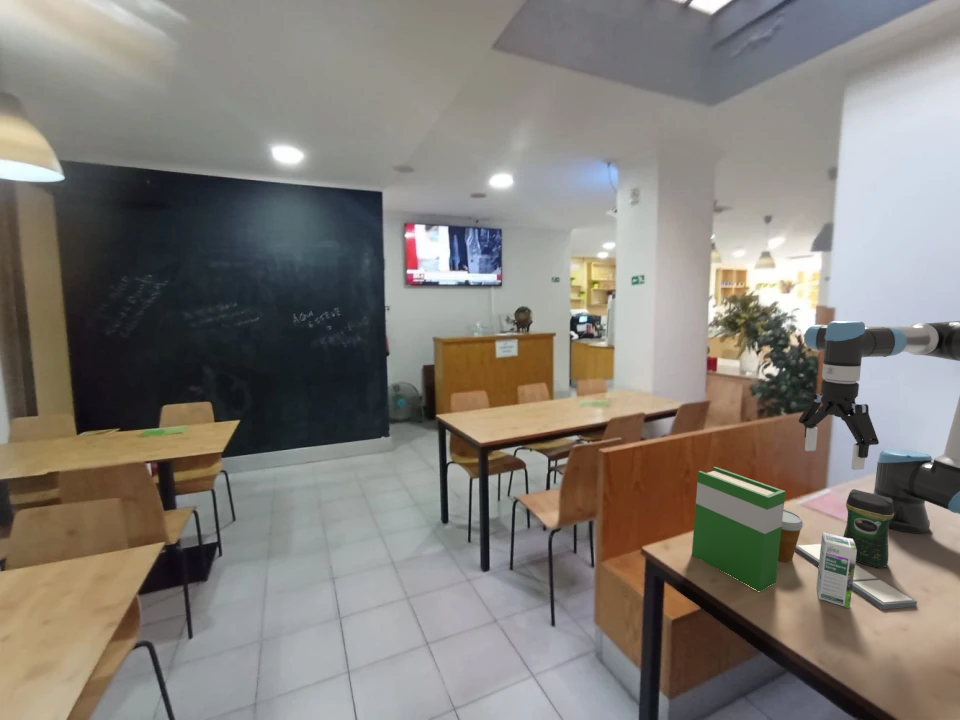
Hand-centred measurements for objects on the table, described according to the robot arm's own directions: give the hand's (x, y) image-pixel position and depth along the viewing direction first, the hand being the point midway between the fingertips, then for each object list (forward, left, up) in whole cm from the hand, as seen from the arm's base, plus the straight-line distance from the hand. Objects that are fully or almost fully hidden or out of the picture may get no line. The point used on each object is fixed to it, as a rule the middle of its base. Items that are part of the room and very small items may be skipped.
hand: (832, 459), depth 114 cm
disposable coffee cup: (+12, -1, -28) cm, 30 cm away
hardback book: (+28, +2, -28) cm, 40 cm away
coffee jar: (-11, +2, -28) cm, 30 cm away
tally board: (0, +8, -28) cm, 29 cm away
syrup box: (+12, +15, -28) cm, 34 cm away
